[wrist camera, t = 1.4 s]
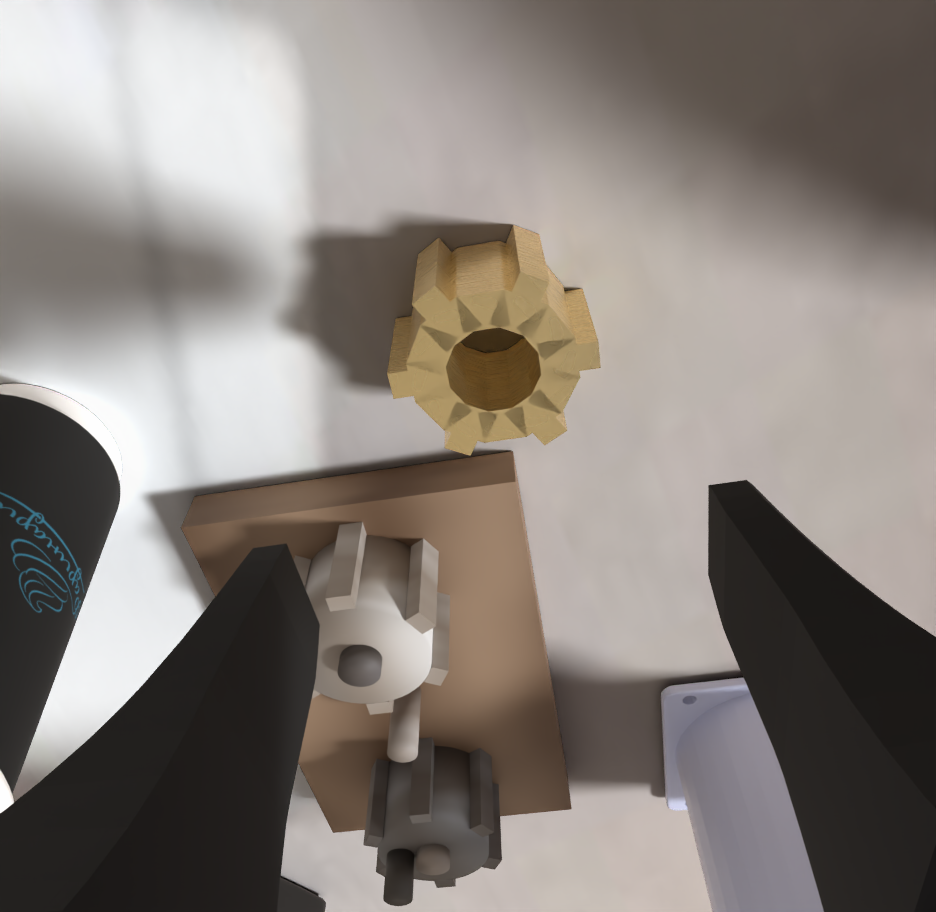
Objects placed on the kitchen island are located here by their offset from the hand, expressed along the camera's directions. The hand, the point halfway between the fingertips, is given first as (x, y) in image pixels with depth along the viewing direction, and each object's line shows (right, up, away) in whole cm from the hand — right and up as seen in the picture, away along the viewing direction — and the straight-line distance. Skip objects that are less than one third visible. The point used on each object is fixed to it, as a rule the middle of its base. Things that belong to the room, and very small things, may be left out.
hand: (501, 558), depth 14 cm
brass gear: (0, +5, +8) cm, 9 cm away
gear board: (-3, -6, +15) cm, 17 cm away
